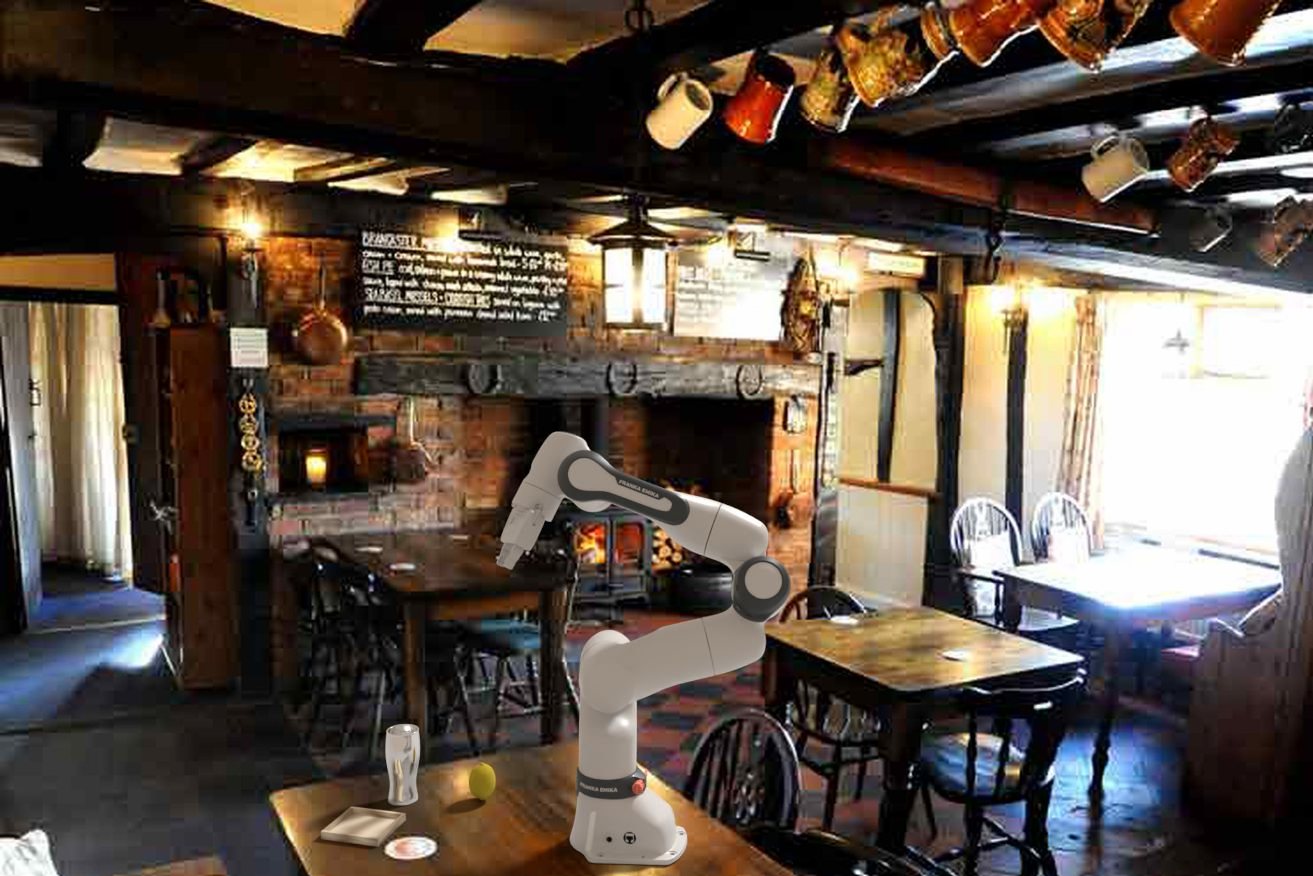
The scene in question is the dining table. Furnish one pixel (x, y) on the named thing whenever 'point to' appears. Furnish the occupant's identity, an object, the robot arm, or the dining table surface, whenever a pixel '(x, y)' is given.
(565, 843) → the dining table surface
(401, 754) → the beer glass
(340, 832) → the tray
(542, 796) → the dining table surface
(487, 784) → the lemon
